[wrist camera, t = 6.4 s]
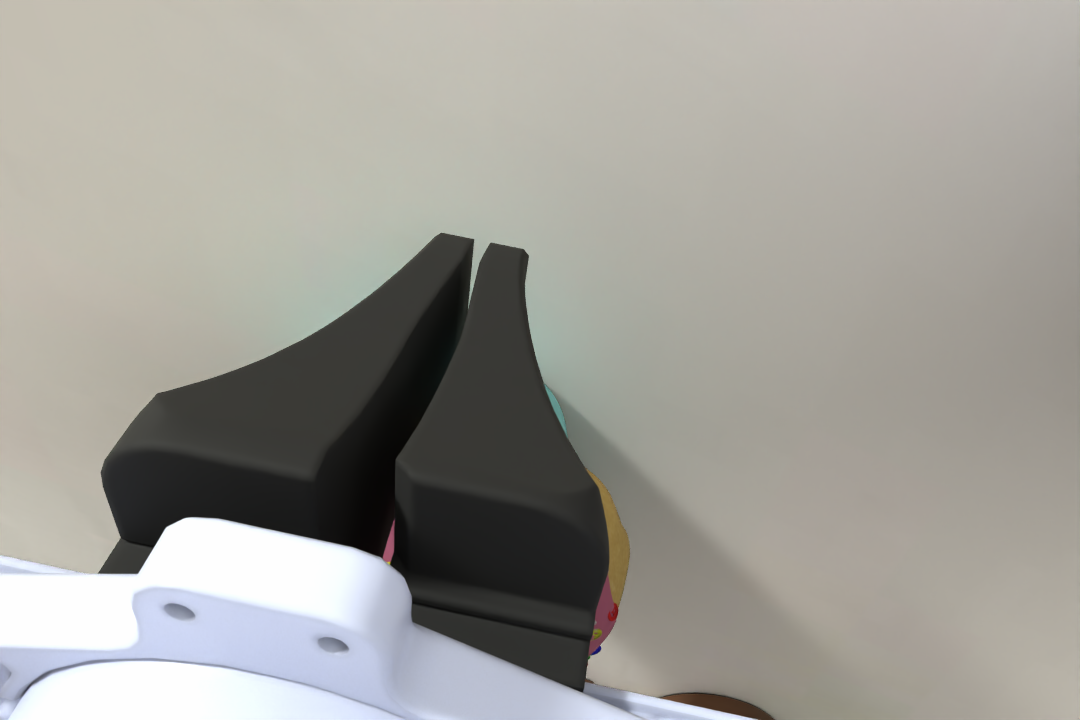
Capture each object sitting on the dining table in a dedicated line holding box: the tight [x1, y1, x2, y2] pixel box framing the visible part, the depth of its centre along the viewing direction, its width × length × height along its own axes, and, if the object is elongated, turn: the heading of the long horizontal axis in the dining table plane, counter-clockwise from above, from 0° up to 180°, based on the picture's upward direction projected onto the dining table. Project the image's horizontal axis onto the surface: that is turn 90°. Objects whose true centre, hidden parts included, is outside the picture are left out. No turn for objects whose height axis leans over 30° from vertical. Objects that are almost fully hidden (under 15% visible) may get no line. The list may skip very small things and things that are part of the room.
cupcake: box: [382, 384, 630, 666], centre depth 17 cm, size 9×8×12 cm
